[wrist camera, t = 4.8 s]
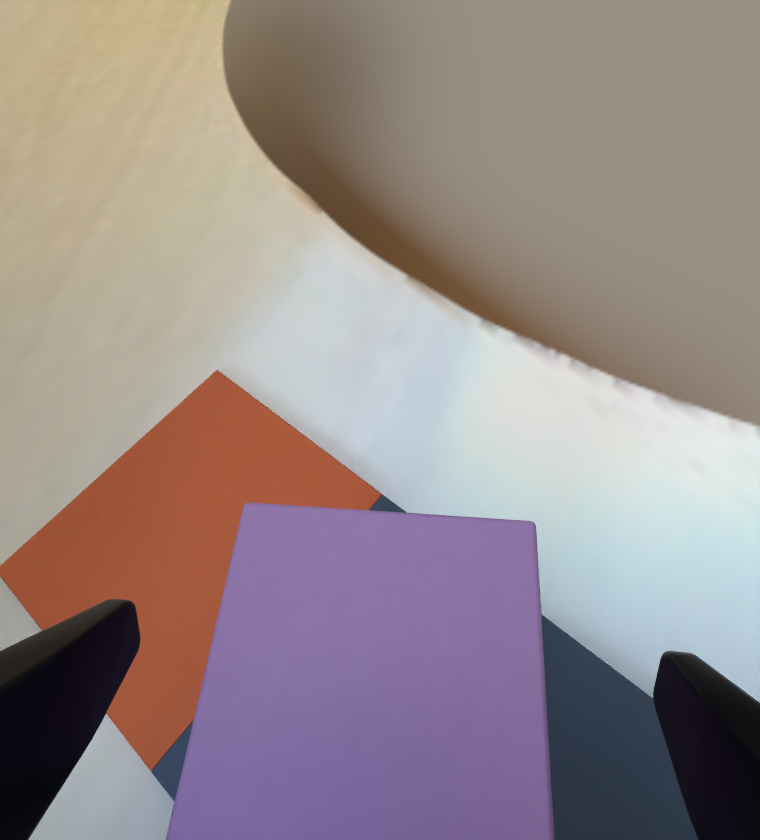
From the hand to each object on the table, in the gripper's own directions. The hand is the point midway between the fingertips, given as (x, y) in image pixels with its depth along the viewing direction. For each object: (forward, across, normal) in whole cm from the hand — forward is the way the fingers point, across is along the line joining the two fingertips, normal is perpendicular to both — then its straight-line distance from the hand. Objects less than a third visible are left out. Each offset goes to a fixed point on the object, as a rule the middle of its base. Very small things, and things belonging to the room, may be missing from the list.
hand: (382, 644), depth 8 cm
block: (+5, 0, +6) cm, 7 cm away
